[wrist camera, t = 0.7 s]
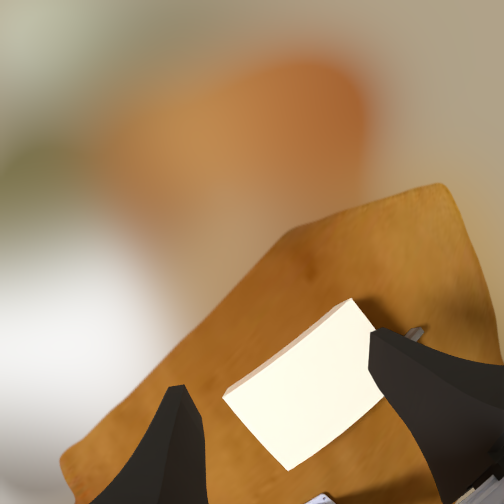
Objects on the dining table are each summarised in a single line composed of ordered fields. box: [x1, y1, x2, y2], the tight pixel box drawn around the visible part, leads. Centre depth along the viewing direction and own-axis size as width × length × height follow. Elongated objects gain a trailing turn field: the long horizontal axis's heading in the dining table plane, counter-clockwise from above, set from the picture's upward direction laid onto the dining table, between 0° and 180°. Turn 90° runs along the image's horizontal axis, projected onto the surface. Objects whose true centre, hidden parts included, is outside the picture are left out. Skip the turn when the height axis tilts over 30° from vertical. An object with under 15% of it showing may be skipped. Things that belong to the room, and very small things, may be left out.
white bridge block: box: [222, 298, 384, 471], centre depth 30 cm, size 12×18×6 cm, turn 127°
